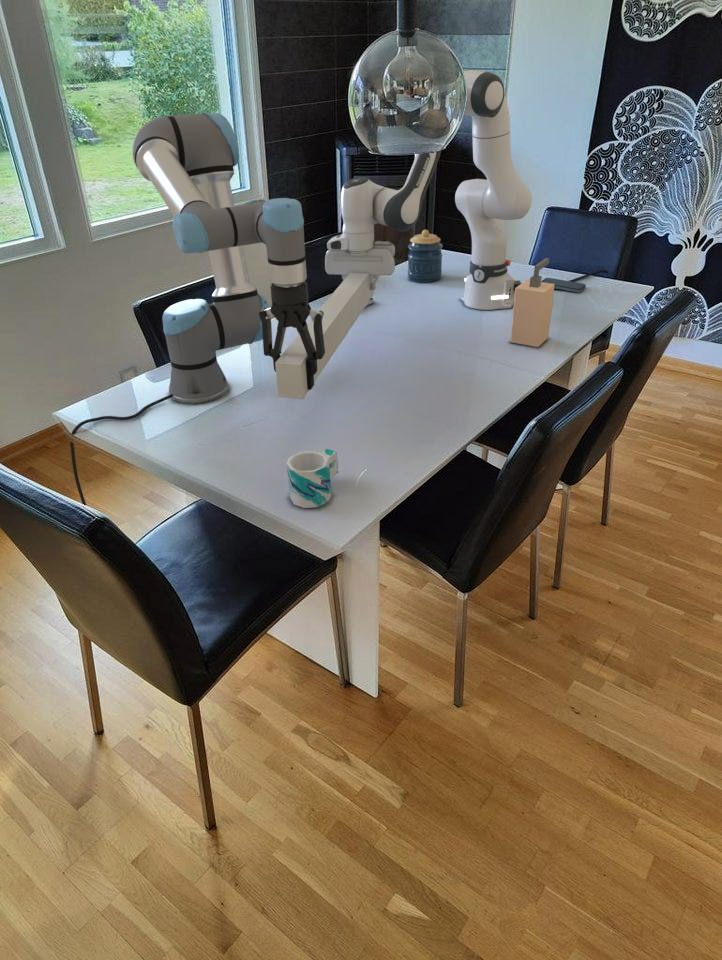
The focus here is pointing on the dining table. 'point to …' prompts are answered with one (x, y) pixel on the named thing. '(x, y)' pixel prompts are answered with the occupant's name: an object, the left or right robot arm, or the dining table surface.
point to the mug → (311, 477)
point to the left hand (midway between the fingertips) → (297, 385)
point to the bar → (324, 334)
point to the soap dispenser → (532, 309)
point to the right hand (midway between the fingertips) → (360, 289)
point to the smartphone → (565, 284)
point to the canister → (425, 257)
